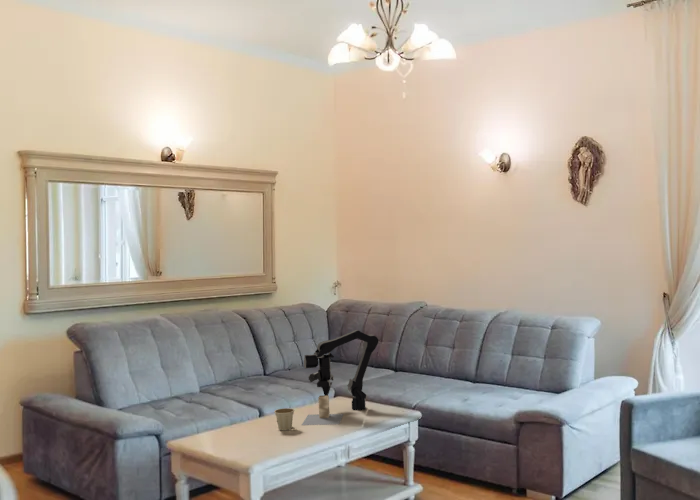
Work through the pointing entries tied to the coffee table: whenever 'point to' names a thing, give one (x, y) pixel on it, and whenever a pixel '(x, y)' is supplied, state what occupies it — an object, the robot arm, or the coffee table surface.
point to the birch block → (324, 406)
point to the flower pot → (284, 418)
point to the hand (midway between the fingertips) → (326, 397)
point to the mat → (323, 420)
